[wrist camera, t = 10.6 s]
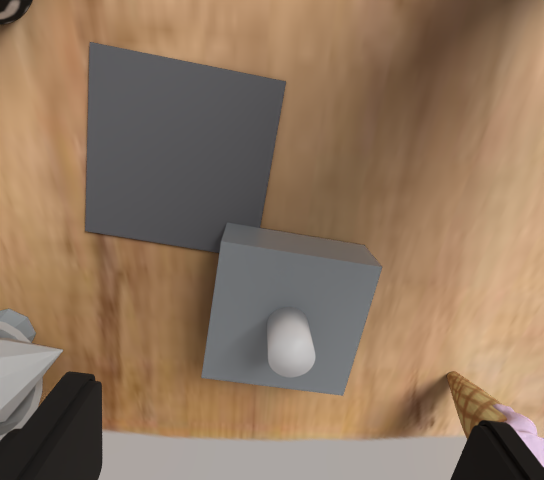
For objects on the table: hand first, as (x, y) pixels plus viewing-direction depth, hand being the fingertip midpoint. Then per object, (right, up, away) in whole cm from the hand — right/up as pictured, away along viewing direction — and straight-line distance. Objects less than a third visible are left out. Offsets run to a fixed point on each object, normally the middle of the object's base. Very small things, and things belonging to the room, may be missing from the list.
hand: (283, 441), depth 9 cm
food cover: (+1, -1, +32) cm, 32 cm away
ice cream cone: (+22, -12, +36) cm, 44 cm away
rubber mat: (-9, +13, +27) cm, 31 cm away
